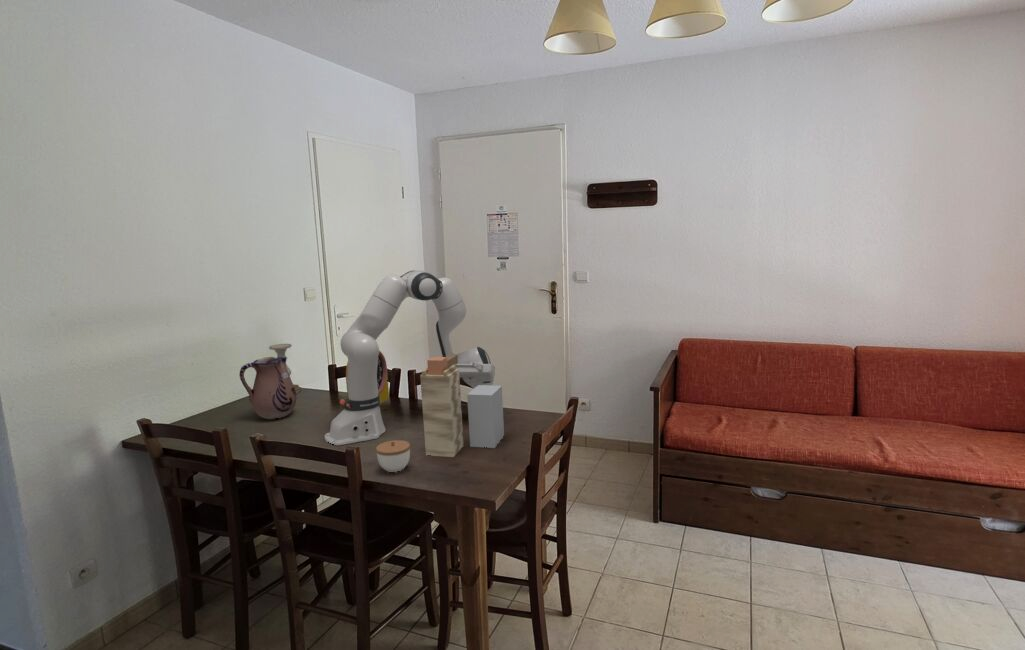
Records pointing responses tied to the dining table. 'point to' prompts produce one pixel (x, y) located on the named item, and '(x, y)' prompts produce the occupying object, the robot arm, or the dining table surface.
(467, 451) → the dining table surface
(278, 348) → the candle holder
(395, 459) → the lidded jar
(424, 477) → the dining table surface
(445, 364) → the orange brown rectangular bar
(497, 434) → the pedestal
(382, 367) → the alarm clock
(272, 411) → the ceramic pitcher
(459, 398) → the beige wooden block tower
